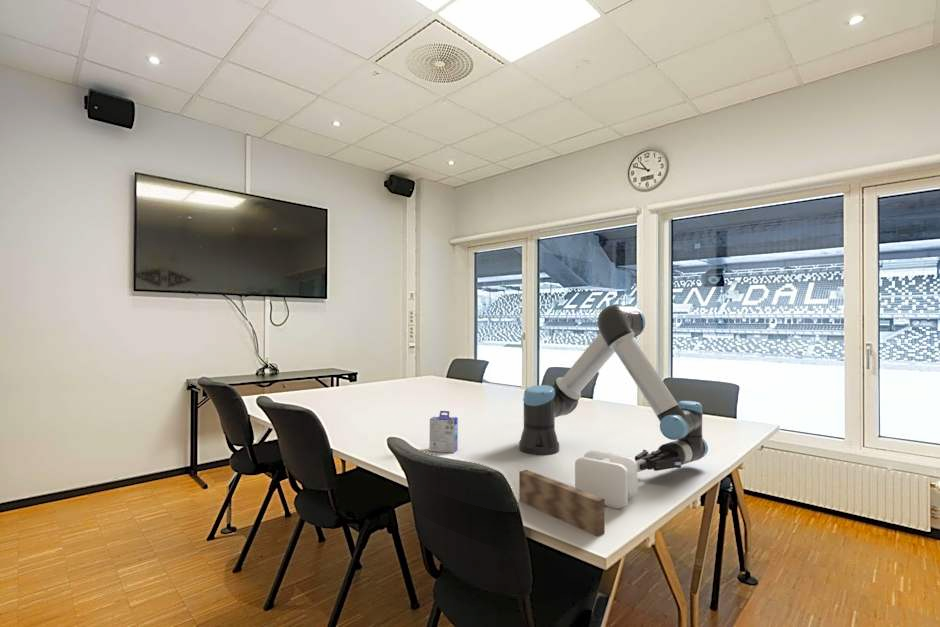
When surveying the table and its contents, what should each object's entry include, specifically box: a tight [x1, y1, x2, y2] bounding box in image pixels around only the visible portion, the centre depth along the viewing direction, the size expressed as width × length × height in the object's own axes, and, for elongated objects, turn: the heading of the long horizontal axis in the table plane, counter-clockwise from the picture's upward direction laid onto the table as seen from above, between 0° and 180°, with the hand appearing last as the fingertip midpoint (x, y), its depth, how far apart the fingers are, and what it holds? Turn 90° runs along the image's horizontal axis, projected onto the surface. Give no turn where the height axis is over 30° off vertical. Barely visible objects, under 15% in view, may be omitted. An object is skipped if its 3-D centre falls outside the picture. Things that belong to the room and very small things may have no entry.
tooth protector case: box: [574, 450, 638, 510], centre depth 131 cm, size 15×11×12 cm
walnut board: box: [518, 469, 606, 537], centre depth 119 cm, size 26×2×8 cm, turn 37°
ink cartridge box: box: [428, 410, 459, 454], centre depth 178 cm, size 10×6×14 cm, turn 78°
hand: (630, 468), depth 137 cm, fingers closed
